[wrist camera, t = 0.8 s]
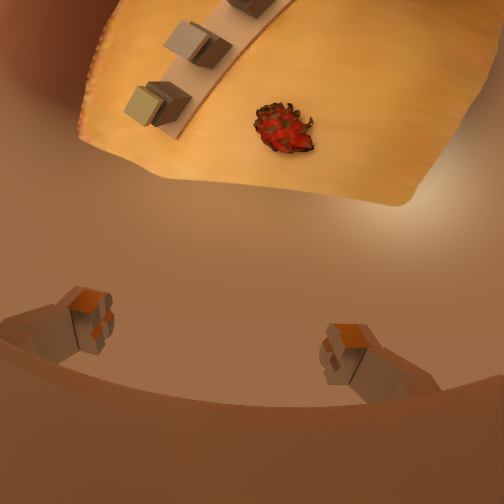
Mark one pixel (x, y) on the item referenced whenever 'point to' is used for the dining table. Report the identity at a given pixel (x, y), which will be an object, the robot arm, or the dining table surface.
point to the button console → (210, 59)
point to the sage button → (143, 105)
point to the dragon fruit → (283, 129)
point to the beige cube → (186, 40)
